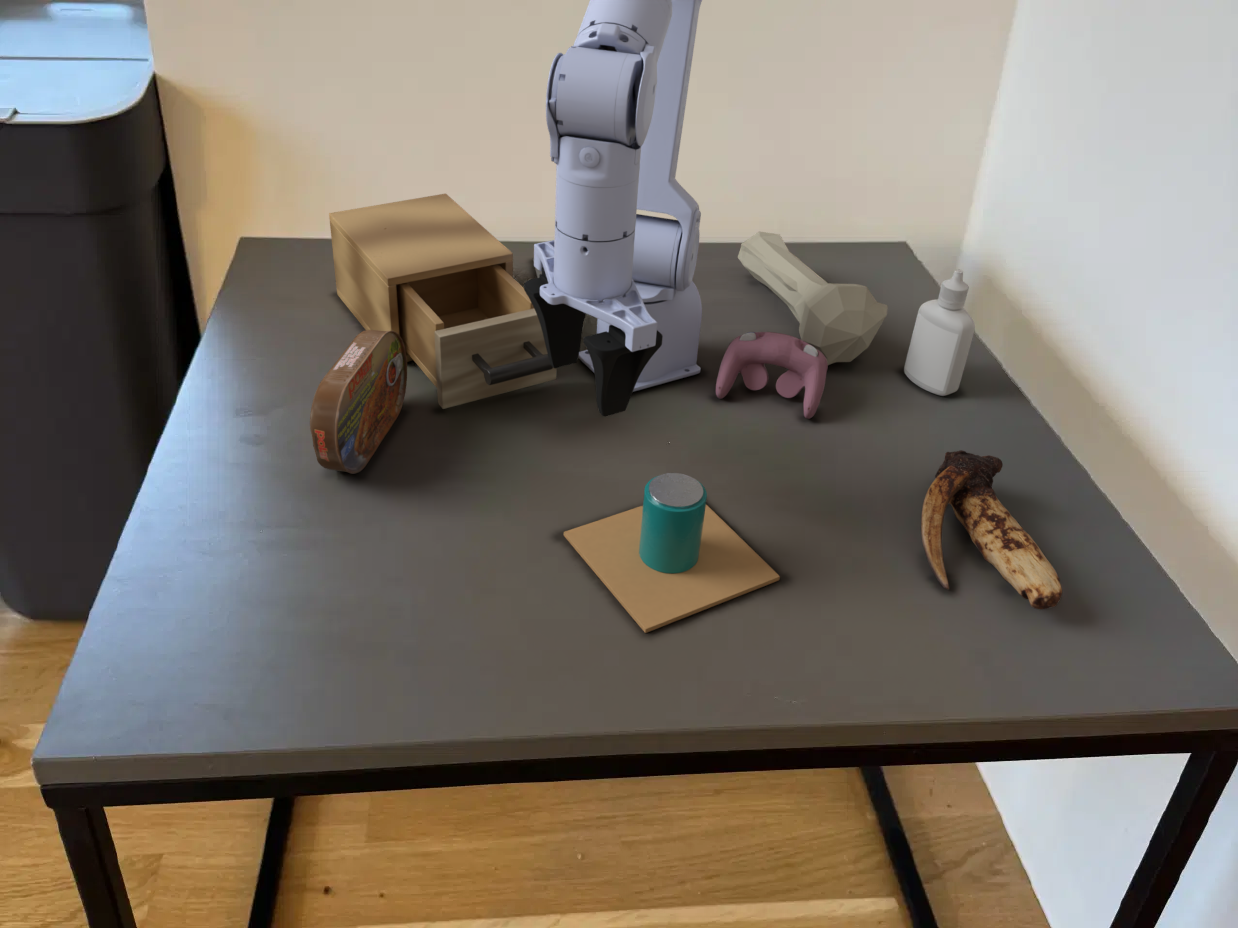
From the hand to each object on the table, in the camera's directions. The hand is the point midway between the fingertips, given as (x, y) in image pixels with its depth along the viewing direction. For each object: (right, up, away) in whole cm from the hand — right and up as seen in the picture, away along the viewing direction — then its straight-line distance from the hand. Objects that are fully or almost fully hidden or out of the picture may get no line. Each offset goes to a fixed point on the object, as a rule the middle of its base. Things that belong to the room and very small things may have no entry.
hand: (587, 387), depth 86 cm
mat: (+6, -13, -2) cm, 15 cm away
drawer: (-11, +3, +17) cm, 21 cm away
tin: (-19, -4, +9) cm, 22 cm away
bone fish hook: (+30, -13, +2) cm, 33 cm away
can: (+6, -13, -2) cm, 14 cm away
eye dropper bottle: (+33, +2, +22) cm, 39 cm away
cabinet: (-18, +9, +26) cm, 33 cm away
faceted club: (+22, +9, +31) cm, 39 cm away
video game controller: (+17, 0, +18) cm, 25 cm away
